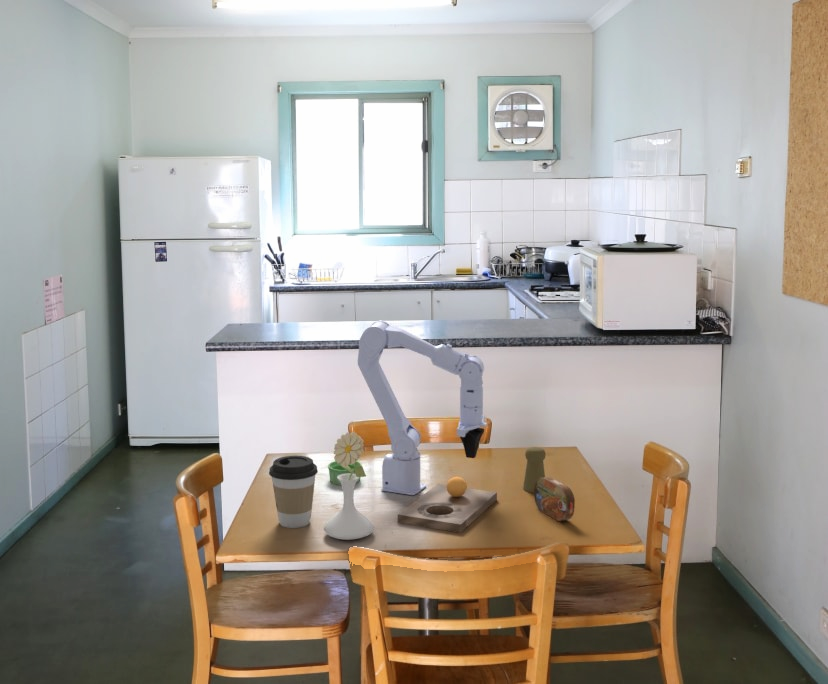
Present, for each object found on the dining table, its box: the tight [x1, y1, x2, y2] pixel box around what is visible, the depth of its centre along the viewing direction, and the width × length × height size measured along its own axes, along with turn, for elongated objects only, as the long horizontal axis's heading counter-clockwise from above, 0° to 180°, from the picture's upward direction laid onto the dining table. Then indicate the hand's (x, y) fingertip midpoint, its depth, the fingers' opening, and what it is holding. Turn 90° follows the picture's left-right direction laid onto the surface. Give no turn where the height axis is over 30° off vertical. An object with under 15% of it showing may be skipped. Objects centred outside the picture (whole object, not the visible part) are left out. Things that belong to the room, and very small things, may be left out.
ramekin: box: [327, 460, 363, 486], centre depth 264 cm, size 9×9×4 cm
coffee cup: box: [268, 455, 319, 529], centre depth 233 cm, size 11×11×15 cm
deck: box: [397, 483, 498, 534], centre depth 241 cm, size 16×24×2 cm, turn 155°
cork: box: [522, 446, 546, 494], centre depth 256 cm, size 6×6×11 cm
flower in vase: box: [323, 431, 375, 541], centre depth 223 cm, size 13×11×25 cm
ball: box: [446, 476, 468, 497], centre depth 245 cm, size 5×5×5 cm
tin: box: [533, 476, 576, 522], centre depth 238 cm, size 15×3×8 cm, turn 23°
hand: (470, 457), depth 252 cm, fingers closed
